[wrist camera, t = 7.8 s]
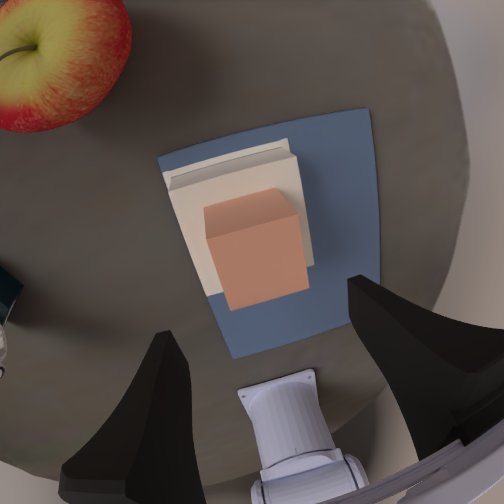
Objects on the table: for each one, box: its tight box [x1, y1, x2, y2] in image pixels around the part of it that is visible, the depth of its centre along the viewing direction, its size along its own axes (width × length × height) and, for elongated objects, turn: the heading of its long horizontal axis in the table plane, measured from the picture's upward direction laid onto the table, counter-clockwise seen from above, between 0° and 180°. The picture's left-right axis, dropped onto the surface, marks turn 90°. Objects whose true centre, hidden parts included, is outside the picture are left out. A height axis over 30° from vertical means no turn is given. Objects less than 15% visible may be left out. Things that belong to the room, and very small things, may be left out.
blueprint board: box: [157, 108, 380, 359], centre depth 22 cm, size 18×14×1 cm
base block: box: [168, 147, 314, 296], centre depth 19 cm, size 7×7×3 cm
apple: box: [0, 0, 132, 133], centre depth 10 cm, size 8×8×10 cm
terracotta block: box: [203, 187, 309, 311], centre depth 16 cm, size 4×4×4 cm
